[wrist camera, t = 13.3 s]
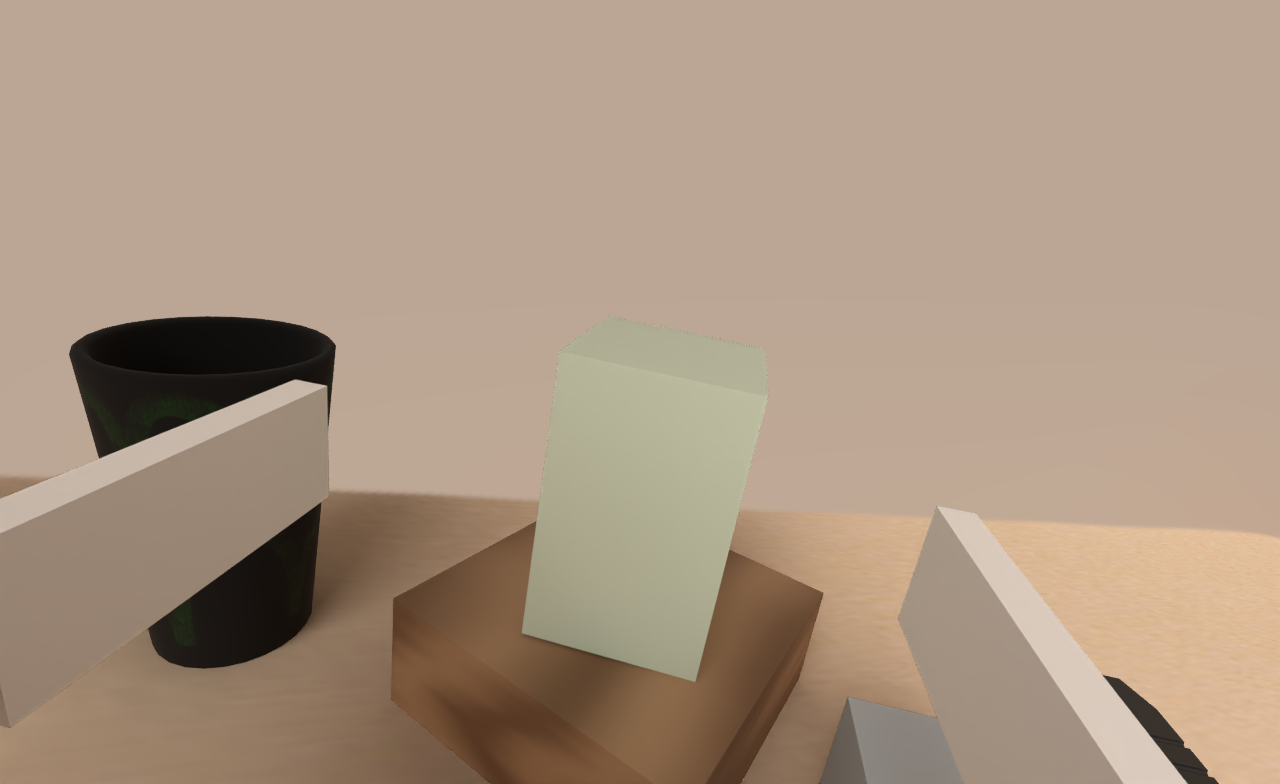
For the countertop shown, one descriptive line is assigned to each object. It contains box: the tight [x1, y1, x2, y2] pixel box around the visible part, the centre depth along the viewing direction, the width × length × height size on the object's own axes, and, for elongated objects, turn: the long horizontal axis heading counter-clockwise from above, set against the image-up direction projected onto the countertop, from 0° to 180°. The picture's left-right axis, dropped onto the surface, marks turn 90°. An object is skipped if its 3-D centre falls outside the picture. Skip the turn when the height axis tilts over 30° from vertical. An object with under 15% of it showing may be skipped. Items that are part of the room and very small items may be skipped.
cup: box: [69, 316, 336, 668], centre depth 23 cm, size 8×8×12 cm
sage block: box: [522, 316, 768, 682], centre depth 21 cm, size 6×6×10 cm
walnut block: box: [391, 521, 823, 784], centre depth 24 cm, size 12×12×5 cm
